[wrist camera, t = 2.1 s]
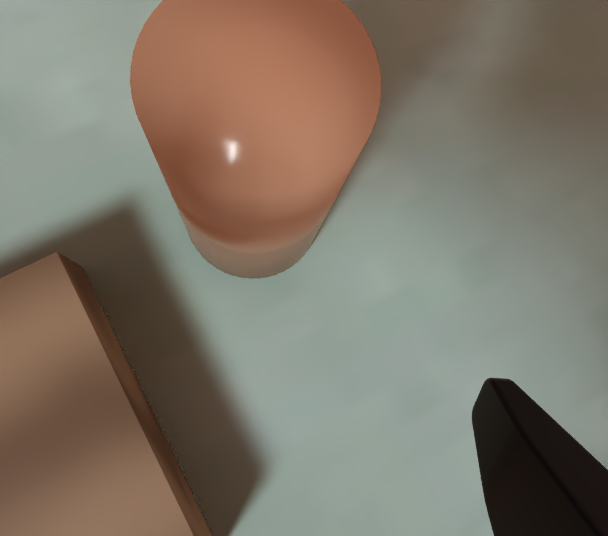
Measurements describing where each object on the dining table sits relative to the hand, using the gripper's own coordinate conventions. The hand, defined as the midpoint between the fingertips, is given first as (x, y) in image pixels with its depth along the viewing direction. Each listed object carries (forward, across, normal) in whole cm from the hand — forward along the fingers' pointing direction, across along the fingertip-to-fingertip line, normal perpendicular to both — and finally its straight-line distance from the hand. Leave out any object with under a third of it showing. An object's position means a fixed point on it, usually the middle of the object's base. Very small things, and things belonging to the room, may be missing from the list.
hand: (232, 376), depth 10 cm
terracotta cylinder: (+13, 0, +4) cm, 14 cm away
